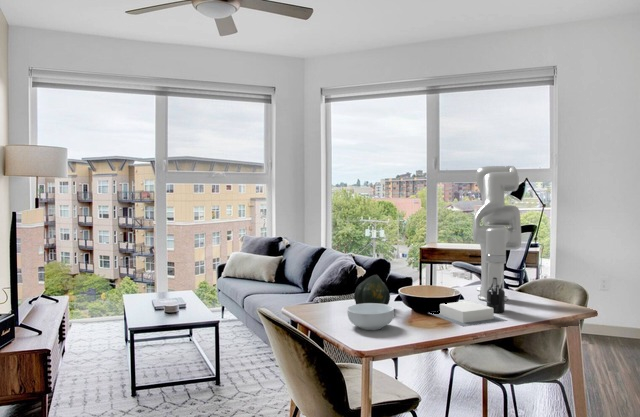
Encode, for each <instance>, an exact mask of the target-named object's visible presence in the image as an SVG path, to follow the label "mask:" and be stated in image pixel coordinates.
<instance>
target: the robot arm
mask: <svg viewBox="0 0 640 417" xmlns="http://www.w3.org/2000/svg"><path fill="white" fill-rule="evenodd" d="M475 178H476V179H475V180H476V184H477V188H478V191H479V193H480V196H481V200H482V203H481V206H480V207H479V208H478V209H477V211H476V212H475V214H474V216H473V219H472V238H473V242H474V243H475V244H477V245H479V246H480V256H481V259H480V261H481V262H480V263H481V264H480V267H481V269H480V270H481V271H480V274H481V279H480V281H481V282H480V285H481V286H479V287H477V288H476V291H477V292H479V294H478V295H477V299H479V300H481V301H484V302H487V290H488V289H490V287H491V304H492V305H499V289H500V288H501V284H502V290H504V291H505V264H507V251H517V250H519V249H520V248H521V246H522V226H521V225H522V223H521V212H520V209H519V208H518V206H516V205H509V204H507V205H505V202H506V201H505V192H516V191H518V189H519V186H520V177H519V174H518V170H517V168H516V167H515V166H514V165H487V166H481V167H479V168H478V169H477V170H476V173H475ZM481 221H482V222H483V224H484V225H480V223H481ZM508 298H509V297H508V296H507V295H505V302H506V301H508Z"/></svg>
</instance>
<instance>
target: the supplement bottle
mask: <svg viewBox="0 0 640 417" xmlns="http://www.w3.org/2000/svg"><path fill="white" fill-rule="evenodd" d="M505 296H506V292H505V289H504V290H502V284H501V288H500V289H499V305H492V304H491V287H490V289H488V290H487V301H486V306H488V307H491V308H494V314H503V313H505V310H506V309H505V307H506V306H505V305H506V304H505V302H506V301H505Z"/></svg>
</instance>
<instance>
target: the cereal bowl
mask: <svg viewBox="0 0 640 417" xmlns="http://www.w3.org/2000/svg"><path fill="white" fill-rule="evenodd" d="M346 312H347V318H348V320H349V321H350V322H351V324H353V325H354V326H356V327H359V328H360V329H361V330H366V331H377V330H381V329H383V327H385V326H387V325H389V324H390V323H391V322H392V321H393V319H394V318H395V317H394V316H395V307H394V306H392V305H390V304H388V305H386V304H378V303H363V304H356V303H355V304H352V305H349V306H347V311H346Z"/></svg>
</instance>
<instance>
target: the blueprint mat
mask: <svg viewBox="0 0 640 417" xmlns="http://www.w3.org/2000/svg"><path fill="white" fill-rule="evenodd" d="M428 315H431V316H434V317H437V318H440V319H442V320H445V321H447V322H450V323H452V324H456V325H459V326H460V327H471V326H478V325H484V324H485V325H486V324H492V323H499V322H507V321H508V319H505V318H501V317H498V316H496V315H494V319H488V320H481V321H473V322H466V323H462V322H459V321H457V320H454V319H451V318H448V317H446V316H443V315H440V313H439V314H434V313H433V314H432V313H430V312H428Z"/></svg>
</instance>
